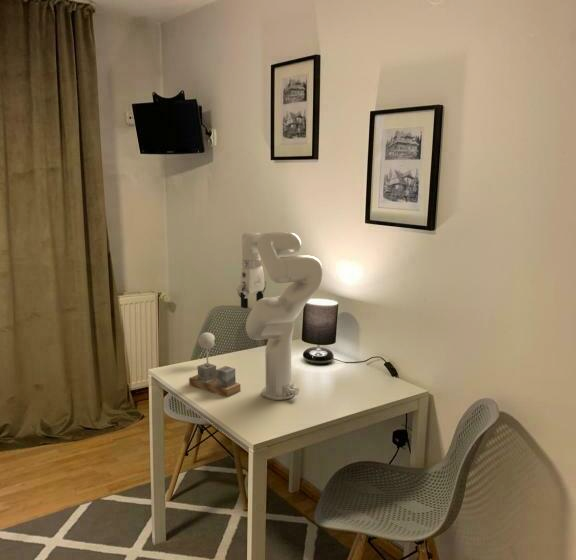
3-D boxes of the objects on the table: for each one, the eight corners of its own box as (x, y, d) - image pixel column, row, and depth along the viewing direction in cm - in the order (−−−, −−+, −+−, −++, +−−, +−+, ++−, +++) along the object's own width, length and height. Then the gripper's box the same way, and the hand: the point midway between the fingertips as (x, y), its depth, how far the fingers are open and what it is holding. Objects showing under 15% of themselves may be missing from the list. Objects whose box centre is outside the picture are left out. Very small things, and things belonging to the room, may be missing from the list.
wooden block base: (240, 391, 212) (240, 368, 210) (228, 397, 206) (227, 374, 205) (202, 380, 224) (201, 358, 222) (189, 385, 218) (188, 363, 216)
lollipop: (214, 369, 235) (213, 335, 232) (197, 369, 235) (196, 335, 232) (217, 363, 242) (216, 330, 239) (200, 363, 242) (199, 330, 239)
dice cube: (206, 381, 213) (205, 369, 212) (197, 378, 216) (197, 366, 215) (216, 378, 216) (216, 365, 216) (207, 375, 220) (207, 362, 219)
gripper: (244, 267, 214) (245, 311, 217) (272, 261, 228) (272, 302, 231) (230, 265, 219) (230, 308, 222) (258, 259, 232) (258, 300, 236)
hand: (252, 305), depth 227 cm, fingers open, 9 cm apart
